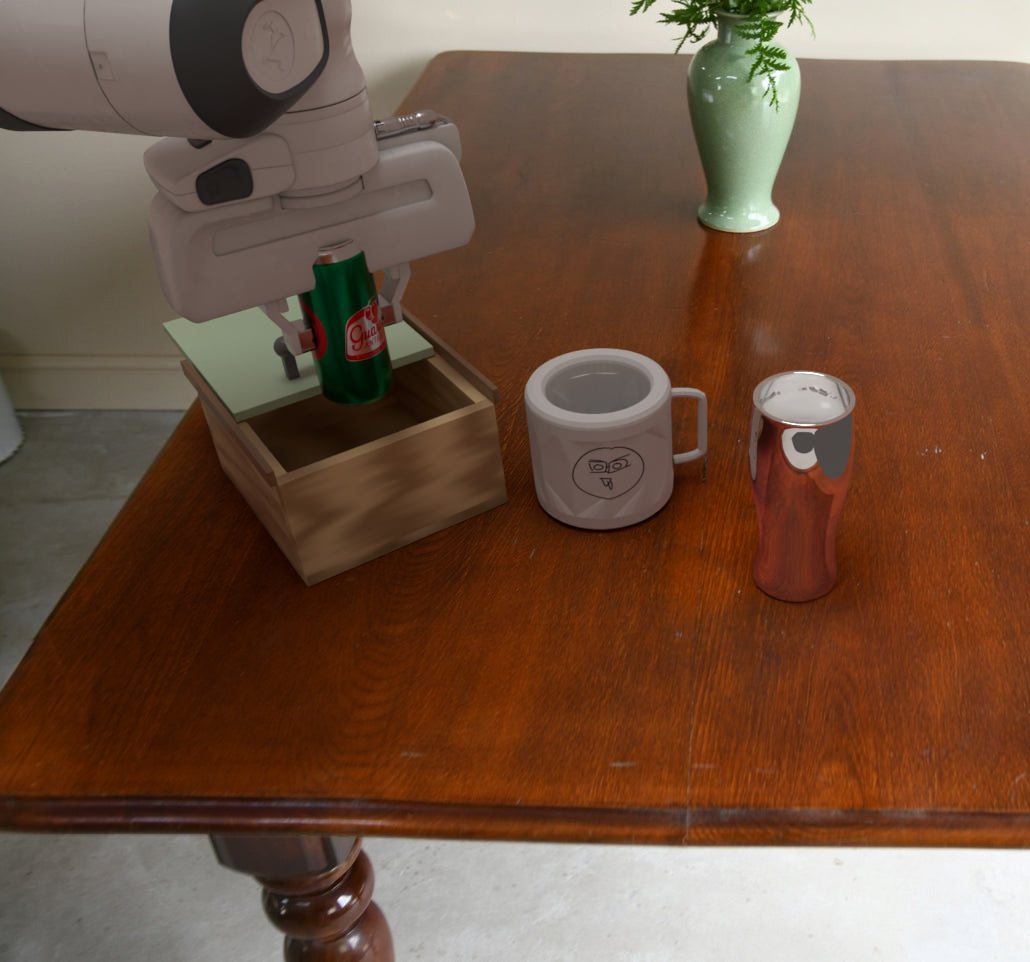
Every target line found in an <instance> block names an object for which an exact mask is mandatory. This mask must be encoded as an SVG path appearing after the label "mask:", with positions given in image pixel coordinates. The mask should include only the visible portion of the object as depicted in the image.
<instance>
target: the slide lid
mask: <svg viewBox="0 0 1030 962" xmlns="http://www.w3.org/2000/svg"><path fill="white" fill-rule="evenodd" d="M286 299H287V304H288V308H289V310H288V312H285V313H281V312H280V313H281V314H282V315H283V316H284V317H285V318H286V319H287V320H288V321H289V322H291V321H295V320H298V319H302V320H303V317H302V314H301V310H300V306H299V302H298V298H297V295H294V296H291V297H288V298H286ZM161 325H162V328H163V331H164V333H165V334H166V335H167V337H168V338H169V339H170V341H171V342H172V343H173V344H174V346H175V347H176V348H177V349H178V351H179V353H181V355H182V356H183V357H184V358H185V359H186V360H187V361H188V362H189V363H190V365H191V366H192V367H193V368H194V370H195V371H196V372H197V373H198V375H199V376H200V377H201V379H202V380H203V381H204V382H205V384H206V385H207V386H208V387H209V389H210V390H211V391H212V393H213V394H214V395H215V396H216V398H217V399H218V400H219V402H220V403H221V404H222V405H223V407H224V408H225V409H226V410H227V412H228V413H229V414H230V416H231V417H232V418H233V419H234V421H235V422H240V421H243V420H245V419H248V418H251V417H254V416H257V415H260V414H263V413H266V412H269V411H272V410H275V409H278V408H281V407H284V406H287V405H289V404H292V403H295V402H298V401H301V400H304V399H307V398H310V397H313V396H316V395H319V394H322V392H321V388H320V384H319V380H318V377H317V373H316V369H315V365H314V361H313V357H312V353H311V351H310V352H307V353H304V354H301V355H298V356H293V354H292V353H291V352H290V351H289V350H288V348H287V346H286V344H285V341H284V337H283V334H282V330H281V328H279V327H278V326H277V325H276V324H275V323H274V322H273V321H272V320H271V319H269V318H268V317H267V316H266V315H265V314H264V313H263V312H262V310H261V309H260V308H259V307H258V306H257V307H254V308H250V309H247V310H243V311H240V312H237V313H233V314H230V315H226V316H223V317H220V318H216V319H213V320H210V321H206V322H203V323H193V322H191V321H189V320H187V319H185V318H184V317H180V318H176V319H172V320H168V321H165V322H162V323H161ZM384 329H385V333H386V338H387V343H388V348H389V353H390V358H391V363H392V367H393V369H395V368H398V367H401V366H404V365H407V364H410V363H413V362H416V361H419V360H422V359H424V358H427V357H430V356H433V355H434V352H435V351H434V349H433V346H432V345H431V344H430V343H429V342H427V341H426V340H425V339H424V338H423V337H422V336H421V335H419V334H418V333H417V332H416V331H415V330H414V329H412V328H411V327H410V326H409V325H408V324H407V323H406V322H404V321H402V322H400V323H397V324H394V325H390V326H387V327H384Z"/></svg>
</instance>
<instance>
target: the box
mask: <svg viewBox="0 0 1030 962" xmlns="http://www.w3.org/2000/svg"><path fill="white" fill-rule="evenodd" d="M400 307H401V312H402V318H403V321H404V322H406V323H407V324H408V325H409V326H410V327H411V328H412V329H414V330H415V331H416V332H417V333H418V334H419V335H421V336H422V337H423V338H424V339H425V340H426V341H427V342H429V343H430V344H431V345H432V346H433V349H434V355H433V356H430V357H427V358H424V359H422V360H419V361H416V362H413V363H410V364H407V365H404V366H401V367H398V368H395V369H393V372H394V377H395V382H394V384H393V386H392V388H391V389H390V391H389V392H388V393H387V395H386V396H384V397H383V398H382V399H380V400H378V401H376V402H374V403H371V404H368V405H363V406H357V407H347V406H341V405H338V404H335V403H333V402H332V401H330V400H328V399H327V398H326V397H325V396H323V394H319V395H316V396H313V397H310V398H307V399H304V400H301V401H298V402H295V403H292V404H289V405H287V406H284V407H281V408H278V409H275V410H272V411H269V412H266V413H263V414H260V415H257V416H254V417H251V418H248V419H245V420H243V421H240V422H235V421H234V419H233V418H232V417H231V416H230V414H229V413H228V412H227V410H226V409H225V408H224V407H223V405H222V404H221V403H220V402H219V400H218V399H217V398H216V396H215V395H214V394H213V393H212V391H211V390H210V389H209V387H208V386H207V385H206V384H205V382H204V381H203V380H202V379H201V377H200V376H199V375H198V373H197V372H196V371H195V370H194V368H193V367H192V366H191V365H190V363H189V362H188V361H187V359H186V358H185V359H182V360H179V363H180V366H181V370H182V372H183V375H184V376H185V378H186V379H187V380H188V381H189V383H190V384H191V386H192V387H193V388H194V389H195V390H196V392H197V395H198V398H199V401H200V405H201V408H202V411H203V414H204V416H205V420H206V423H207V426H208V430H209V432H210V435H211V438H212V441H213V444H214V447H215V451H216V454H217V456H218V460H219V463H220V466H221V469H222V471H223V472H224V473H225V475H226V476H227V477H228V478H229V480H230V481H231V483H232V484H233V486H234V487H235V488H236V490H237V491H238V492H239V494H240V496H241V497H242V498H243V499H244V501H245V502H246V504H247V505H248V506H249V508H250V509H251V510H252V512H253V513H254V515H255V516H256V517H257V519H258V520H259V522H260V523H261V524H262V526H263V527H264V529H265V530H266V531H267V532H268V534H269V535H270V537H271V538H272V540H273V541H274V542H275V544H276V545H277V546H278V548H279V550H280V551H281V552H282V553H283V554H284V556H285V558H286V559H287V560H288V562H289V563H290V564H291V565H292V567H293V568H294V570H295V571H296V572H297V574H298V575H299V577H300V578H301V579H302V581H303V582H304V583H305V585H306V586H307V587H308V588H309V587H312V586H314V585H316V584H318V583H321V582H323V581H325V580H329V579H331V578H333V577H335V576H338V575H339V574H343V573H344V572H346V571H349V570H352V569H355V568H356V567H359V566H361V565H364V564H365V563H368V562H370V561H373V560H375V559H377V558H379V557H382V556H385V555H387V554H389V553H392V552H394V551H396V550H398V549H400V548H403V547H405V546H408V545H411V544H412V543H414V542H417V541H420V540H422V539H424V538H427V537H429V536H431V535H434V534H436V533H438V532H440V531H443V530H446V529H448V528H450V527H452V526H455V525H458V524H460V523H461V522H464V521H466V520H468V519H471V518H473V517H476V516H478V515H480V514H483V513H485V512H488V511H490V510H492V509H494V508H497V507H499V506H501V505H504V504H506V503H509V500H508V493H507V492H508V491H507V486H506V478H505V471H504V464H503V463H504V462H503V458H502V456H503V455H502V449H501V441H500V436H499V427H498V421H497V414H496V406H495V404H498V403H500V402H501V396H500V390H499V387H498V386H497V385H496V384H494V382H492V381H491V380H490V379H489V378H487V377H486V376H485V375H484V374H483V373H482V372H481V371H479V370H478V369H477V368H476V367H475V366H473V365H472V364H471V363H470V362H468V361H467V360H466V359H465V358H464V357H463V356H461V354H460V353H458V352H457V351H456V350H455V349H453V348H452V347H451V346H450V345H449V344H448V343H446V342H445V341H444V340H443V339H442V338H440V337H439V336H438V335H437V334H436V333H434V332H433V330H431V328H429V327H428V326H426V325H425V324H424V323H423V322H422V321H421V320H420V319H419V318H417V317H416V316H415V315H414V314H413V313H411V312H410V311H409V310H408V309H407V308H405V307H404V306H403V305H402V304H401V303H400Z"/></svg>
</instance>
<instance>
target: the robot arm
mask: <svg viewBox="0 0 1030 962" xmlns="http://www.w3.org/2000/svg"><path fill="white" fill-rule="evenodd" d="M352 16H353V6H352V0H0V129H2V130H7V131H11V132H23V133H24V132H72V131H82V132H84V131H85V132H94V133H95V132H97V133H110V134H119V135H120V134H121V135H130V136H131V135H132V136H142V137H143V136H144V137H155V138H162V139H160V140H158V141H157V142H155V143H154V144H152V145H150V146H149V147H147V149H145V151H144V152H143V154H142V155H143V156H142V160H143V166H144V168H145V171H146V173H147V175H148V178H149V179H150V181H151V183H152V184H153V186H154V187H155V188H156V189H157V192H156V194H154V196H153V197H152V199H151V201H150V204H149V207H148V213H147V226H148V228H147V229H148V234H149V240H150V241H149V242H150V248H151V253H152V258H153V263H154V267H155V273H156V276H157V278H158V282H159V283H158V284H159V286H160V288H161V292H162V294H163V297H164V299H165V301H166V302H167V303H168V305H169V306H170V307H171V309H172V310H173V311H174V312H175V313H176V314H178V315H179V316H180V317H181V318H183V317H184V318H185V319H187V320H189V321H191V322H193V323H203V322H206V321H210V320H213V319H216V318H220V317H223V316H226V315H230V314H233V313H237V312H240V311H243V310H247V309H250V308H254V307H257V306H258V307H259V308H260V309H261V310H262V312H263V313H264V314H265V315H266V316H267V317H268V318H269V319H271V320H272V321H273V322H274V323H275V324H276V325H277V326H278V327H279V328H281V330H282V334H283V337H284V341H285V344H286V346H287V348H288V350H289V351H290V352H291V353H292V354H293V356H298V355H301V354H304V353H307V352H310V351H313V350H316V345H315V343H314V342H313V341H312V340H313V338H314V337H313V333H312V329H311V328H310V327H309V326H308V325H306V324H305V323H304V321H303V320H302V319H298V320H295V321H291V322H289V321H288V320H287V319H286V318H285V317H284V316H283V315H282V314H281V313H285V312H288V310H289V308H288V304H287V299H286V298H288V297H291V296H294V295H298V294H301V293H305V292H308V291H311V290H314V289H315V282H316V280H315V276H314V273H313V269H312V266H313V264H314V262H315V260H316V259H317V257H318V255H319V254H320V252H318V251H317V248H319V247H327V246H332V245H336V244H339V243H342V242H344V241H346V240H349V239H353V242H352V244H353V245H355V246H356V247H358V248H360V249H361V250H363V251H364V252H365V257H366V262H367V267H368V269H369V272H370V273H373V274H374V273H375V272H379V271H382V272H383V273H384V277H383V280H382V284H381V288H380V290H379V294H377V295H378V300H379V304H380V309H381V314H382V319H383V324H384V327H387V326H390V325H394V324H397V323H400V322H402V321H403V318H402V312H401V307H400V304H401V302H400V301H402V299H403V297H404V294H405V292H406V289H407V286H408V284H409V281H410V279H411V276H412V273H411V268H410V263H411V262H413V261H416V260H420V259H423V258H427V257H430V256H434V255H437V254H441V253H443V252H448V251H451V250H454V249H457V248H460V247H464V246H466V245H468V244H469V243H470V241H471V239H472V237H473V235H474V233H475V231H476V220H475V215H474V211H473V206H472V205H473V204H472V201H471V198H470V197H471V196H470V194H469V190H468V186H467V184H466V180H465V177H464V173H463V171H462V168H461V166H460V164H461V162H462V157H463V156H462V155H463V151H462V144H461V138H460V137H461V136H460V132H459V129H458V127H457V125H456V124H455V122H454V121H453V120H452V119H451V118H450V117H449V116H447V115H445V114H441V113H436V112H435V110H433V109H420V110H417V111H414V112H412V113H410V114H405V115H399V116H398V115H397V116H388V117H384V118H380V119H375V120H374V118H373V113H372V108H371V103H370V97H369V91H368V87H367V80H366V76H365V72H364V70H363V68H362V66H361V64H360V63H359V60H358V58H357V56H356V53H355V50H354V47H353V42H352V34H351V33H352V32H351V27H352V26H351V25H352ZM438 121H439V122H438ZM163 137H164V138H163ZM280 312H281V313H280Z"/></svg>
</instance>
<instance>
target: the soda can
mask: <svg viewBox="0 0 1030 962" xmlns="http://www.w3.org/2000/svg"><path fill="white" fill-rule="evenodd" d="M352 242H353V239H349V240H346V241H344V242H342V243H339V244H336V245H332V246H327V247H319V248H317V251H318V252H320V254H319V255H318V257H317V259H316V260H315V262H314V264H313V266H312V269H313V273H314V276H315V280H316V282H315V289H314V290H311V291H308V292H305V293H301V294H298V295H297V298H298V302H299V306H300V310H301V314H302V317H303V321H304V323H305V324H306V325H308V326H309V327H310V328H311V329H312V333H313V337H314V338H313V340H312V341H313V342H314V343H315V345H316V350H313V351H311V353H312V357H313V361H314V365H315V369H316V373H317V377H318V380H319V384H320V388H321V392H322V394H323V396H325V397H326V398H327V399H328V400H330V401H332V402H333V403H335V404H338V405H341V406H347V407H357V406H363V405H368V404H371V403H374V402H376V401H378V400H380V399H382V398H383V397H384V396H386V395H387V393H388V392H389V391H390V389H391V388H392V386H393V384H394V382H395V377H394V372H393V367H392V363H391V358H390V353H389V348H388V343H387V338H386V333H385V329H384V324H383V319H382V314H381V309H380V304H379V300H378V295H379V294H378V291H377V285H376V281H375V276H374V272H373V273H370V272H369V269H368V267H367V262H366V257H365V252H364V251H363V250H361V249H360V248H358V247H356V246H355V245H353V244H352Z"/></svg>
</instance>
